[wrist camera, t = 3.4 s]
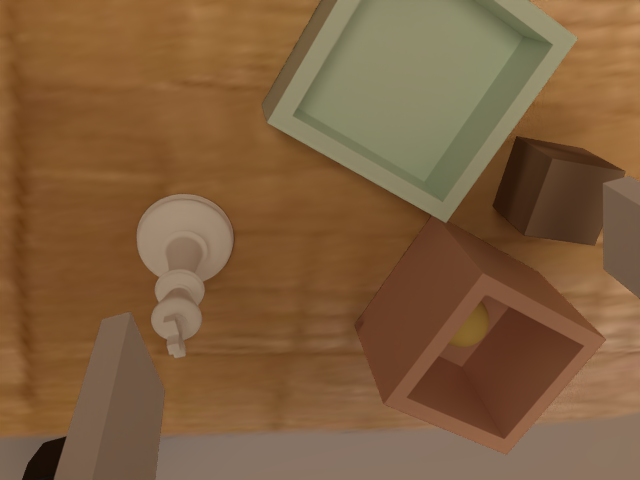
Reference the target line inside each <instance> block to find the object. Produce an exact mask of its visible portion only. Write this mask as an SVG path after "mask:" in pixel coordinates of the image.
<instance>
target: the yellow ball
mask: <svg viewBox="0 0 640 480" xmlns="http://www.w3.org/2000/svg"><path fill="white" fill-rule="evenodd" d="M488 327H489V314H488V311H487V308H486V307H485V305H484V304H483V302H482V301H480V303H479V304H478V305H477V306H476V308H475V309H474V310H473V312H472V313H471V314H470V316H469V317H468V318H467V319H466V321H465V322H464V323H463V325H462V326H461V327H460V329H459V330H458V331H457V332H456V334H455V335H454V336H453V338H452V339H451V340H450V342H449V343H448V344H450V345H453V346H456V347H468V346H472V345H474V344H476V343H478V342H479V341H480V340H481V339H482V338H483V337H484V336H485V334H486V333H487V330H488Z"/></svg>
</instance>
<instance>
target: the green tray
mask: <svg viewBox="0 0 640 480" xmlns="http://www.w3.org/2000/svg"><path fill="white" fill-rule="evenodd" d="M577 39H578V38H577V37H576V36H575V35H573V34H572V33H571V32H569V31H568V30H567V29H565V28H564V27H563V26H561V25H560V24H559V23H558V22H556V21H555V20H554V19H552V18H551V17H550V16H548V15H547V14H546V13H544V12H543V11H542V10H541V9H539V8H538V7H537V6H535V5H534V4H533V3H531V2H530V1H529V0H321V1H320V3H319V5H318V7H317V8H316V10H315V12H314V14H313V15H312V17H311V19H310V21H309V22H308V24H307V26H306V28H305V29H304V31H303V33H302V35H301V37H300V38H299V40H298V42H297V44H296V45H295V47H294V49H293V51H292V52H291V54H290V56H289V58H288V59H287V61H286V63H285V65H284V66H283V68H282V70H281V72H280V73H279V75H278V77H277V79H276V81H275V82H274V84H273V86H272V88H271V89H270V91H269V93H268V95H267V96H266V98H265V100H264V102H263V103H262V107H263V111H264V114H265V118H266V121H267V123H268V124H270V125H272V126H274V127H275V128H277V129H279V130H281V131H283V132H284V133H286V134H288V135H290V136H292V137H293V138H295V139H297V140H299V141H300V142H302V143H304V144H306V145H308V146H309V147H311V148H313V149H315V150H316V151H318V152H320V153H322V154H324V155H325V156H327V157H329V158H331V159H333V160H334V161H336V162H338V163H340V164H341V165H343V166H345V167H347V168H349V169H350V170H352V171H354V172H356V173H358V174H359V175H361V176H363V177H365V178H366V179H368V180H370V181H372V182H374V183H375V184H377V185H379V186H381V187H383V188H384V189H386V190H388V191H390V192H391V193H393V194H395V195H397V196H399V197H400V198H402V199H404V200H406V201H407V202H409V203H411V204H413V205H415V206H416V207H418V208H420V209H422V210H424V211H425V212H427V213H429V214H431V215H432V216H434V217H436V218H438V219H440V220H441V221H443V222H445V223H446V222H447V221H448V219H449V218H450V217H451V215H452V214H453V212H454V211H455V210H456V208H457V207H458V205H459V204H460V203H461V201H462V200H463V198H464V197H465V196H466V194H467V193H468V191H469V190H470V189H471V187H472V186H473V184H474V183H475V182H476V180H477V179H478V177H479V176H480V175H481V173H482V172H483V170H484V169H485V168H486V166H487V165H488V163H489V162H490V161H491V159H492V158H493V156H494V155H495V154H496V152H497V151H498V149H499V148H500V147H501V145H502V144H503V142H504V141H505V140H506V138H507V137H508V135H509V134H510V133H511V131H512V130H513V128H514V127H515V126H516V124H517V123H518V121H519V120H520V119H521V117H522V116H523V114H524V113H525V112H526V110H527V109H528V107H529V106H530V105H531V103H532V102H533V100H534V99H535V98H536V96H537V95H538V93H539V92H540V91H541V89H542V88H543V86H544V85H545V84H546V82H547V81H548V79H549V78H550V77H551V75H552V74H553V72H554V71H555V70H556V68H557V67H558V65H559V64H560V63H561V61H562V60H563V58H564V57H565V56H566V54H567V53H568V51H569V50H570V49H571V47H572V46H573V44H574V43H575V42H576V40H577Z"/></svg>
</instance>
